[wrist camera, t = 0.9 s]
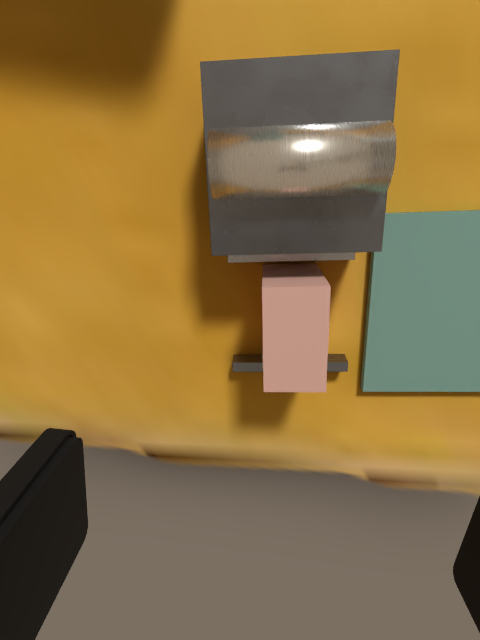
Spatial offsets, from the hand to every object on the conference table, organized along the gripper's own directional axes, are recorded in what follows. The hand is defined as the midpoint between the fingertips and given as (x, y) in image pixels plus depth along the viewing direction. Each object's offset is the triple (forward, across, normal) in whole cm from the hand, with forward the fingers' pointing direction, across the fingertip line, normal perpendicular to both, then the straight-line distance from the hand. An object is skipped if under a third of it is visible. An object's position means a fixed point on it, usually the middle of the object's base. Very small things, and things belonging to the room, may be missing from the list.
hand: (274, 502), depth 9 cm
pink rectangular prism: (+22, -2, +2) cm, 22 cm away
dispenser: (+22, -1, -3) cm, 22 cm away
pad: (+22, -14, 0) cm, 26 cm away
